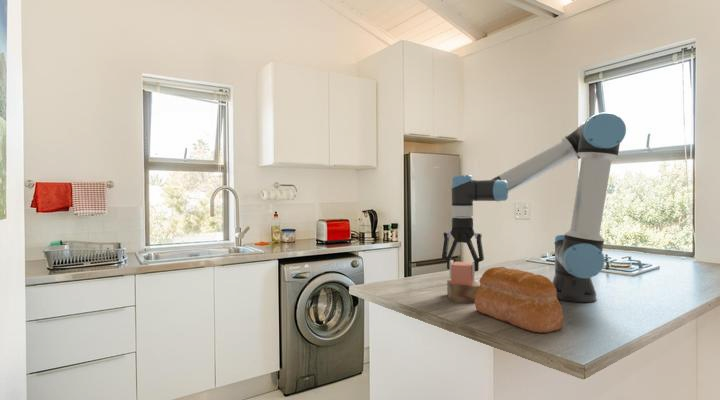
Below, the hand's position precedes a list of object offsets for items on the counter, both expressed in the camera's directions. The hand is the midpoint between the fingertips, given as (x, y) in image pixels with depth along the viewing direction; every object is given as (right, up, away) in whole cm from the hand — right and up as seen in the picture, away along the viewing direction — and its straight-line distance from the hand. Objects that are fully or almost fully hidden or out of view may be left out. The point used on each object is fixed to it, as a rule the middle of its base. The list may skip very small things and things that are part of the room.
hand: (462, 278), depth 144 cm
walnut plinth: (0, -7, 0) cm, 7 cm away
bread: (+10, -8, -24) cm, 27 cm away
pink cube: (0, -1, 0) cm, 1 cm away
